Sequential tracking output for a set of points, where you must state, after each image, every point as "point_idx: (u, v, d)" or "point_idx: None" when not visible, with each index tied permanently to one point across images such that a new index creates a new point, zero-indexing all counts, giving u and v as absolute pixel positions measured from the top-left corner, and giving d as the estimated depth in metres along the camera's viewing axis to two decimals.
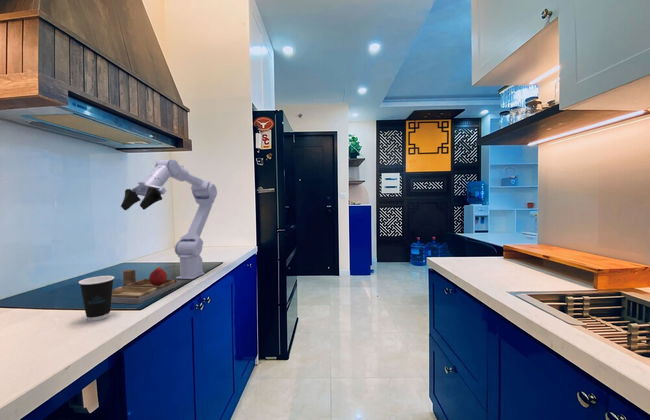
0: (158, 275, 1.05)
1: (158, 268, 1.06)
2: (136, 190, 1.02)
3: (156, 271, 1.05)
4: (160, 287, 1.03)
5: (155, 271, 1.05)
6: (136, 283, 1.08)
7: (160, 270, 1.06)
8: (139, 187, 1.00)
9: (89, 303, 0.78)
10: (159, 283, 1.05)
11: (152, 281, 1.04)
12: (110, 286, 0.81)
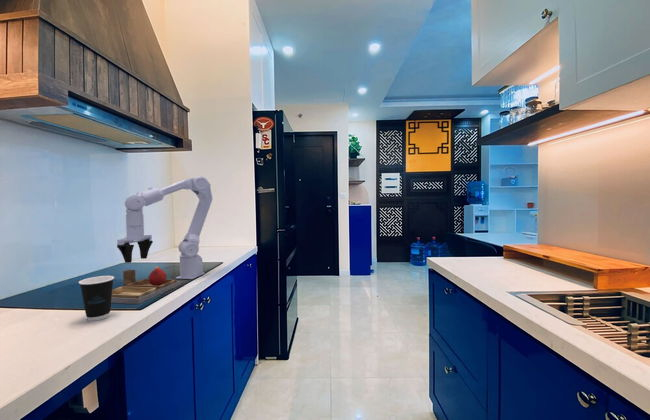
0: (157, 274, 1.05)
1: (157, 268, 1.07)
2: None
3: (155, 271, 1.06)
4: (160, 287, 1.03)
5: (154, 271, 1.06)
6: (136, 283, 1.08)
7: (159, 270, 1.06)
8: None
9: (89, 303, 0.78)
10: (159, 283, 1.05)
11: (151, 281, 1.04)
12: (110, 286, 0.81)
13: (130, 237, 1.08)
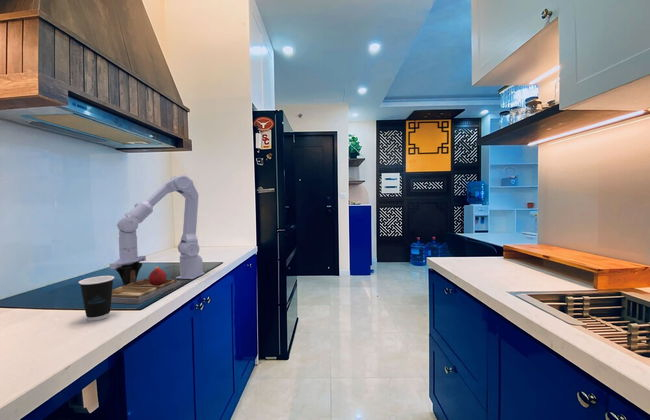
0: (157, 274, 1.05)
1: (157, 268, 1.07)
2: None
3: (155, 271, 1.06)
4: (160, 287, 1.03)
5: (154, 271, 1.06)
6: (136, 283, 1.08)
7: (159, 270, 1.06)
8: None
9: (89, 303, 0.78)
10: (159, 283, 1.05)
11: (151, 281, 1.04)
12: (110, 286, 0.81)
13: (123, 260, 1.06)
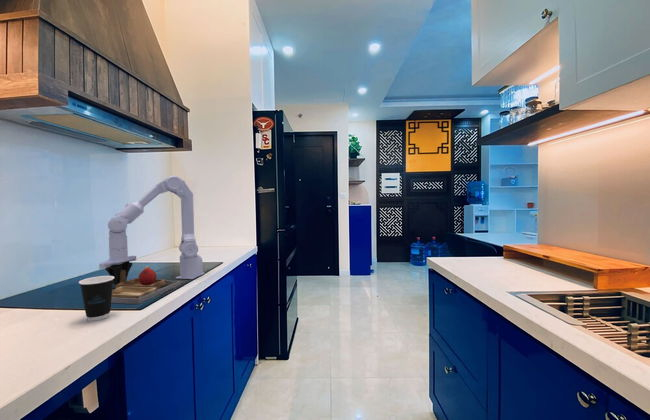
0: (147, 274, 1.06)
1: (147, 268, 1.07)
2: None
3: (145, 270, 1.06)
4: None
5: (144, 271, 1.06)
6: (126, 283, 1.09)
7: (149, 269, 1.07)
8: None
9: (89, 303, 0.78)
10: (148, 282, 1.06)
11: (141, 281, 1.05)
12: (110, 286, 0.81)
13: (113, 260, 1.06)
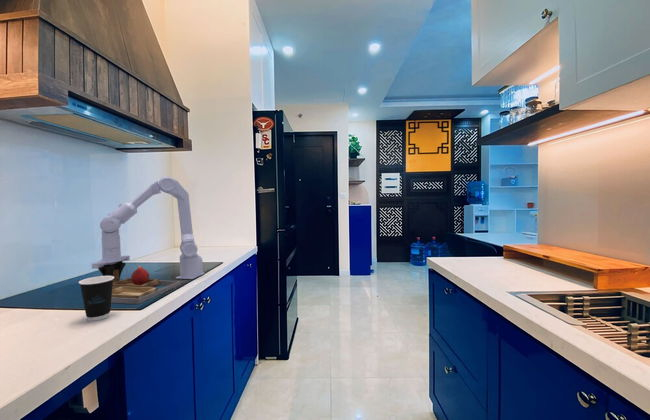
0: (140, 274, 1.06)
1: (139, 267, 1.08)
2: None
3: (137, 270, 1.07)
4: (142, 286, 1.04)
5: (136, 270, 1.07)
6: (119, 282, 1.10)
7: (141, 269, 1.08)
8: None
9: (89, 303, 0.78)
10: (141, 282, 1.06)
11: (134, 280, 1.05)
12: (110, 286, 0.81)
13: (106, 260, 1.07)
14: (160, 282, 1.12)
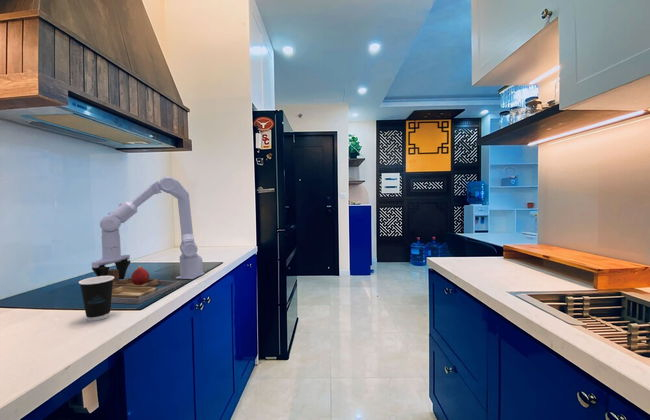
0: (140, 274, 1.06)
1: (139, 267, 1.08)
2: None
3: (137, 270, 1.07)
4: (142, 286, 1.04)
5: (136, 270, 1.07)
6: (119, 282, 1.10)
7: (141, 269, 1.08)
8: None
9: (89, 303, 0.78)
10: (141, 282, 1.06)
11: (134, 280, 1.05)
12: (110, 286, 0.81)
13: (106, 259, 1.07)
14: (160, 282, 1.12)
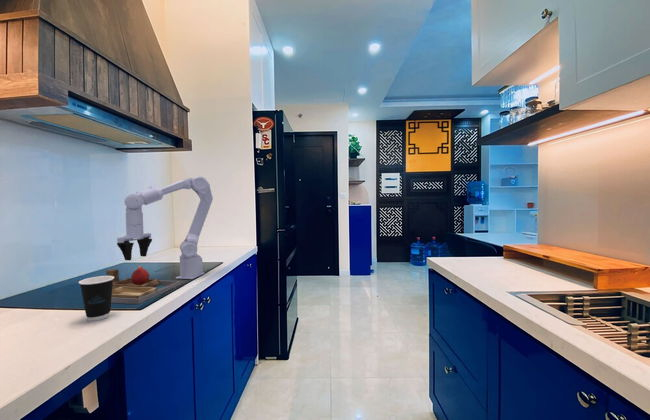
0: (140, 274, 1.06)
1: (139, 267, 1.08)
2: None
3: (137, 270, 1.07)
4: (142, 286, 1.04)
5: (136, 270, 1.07)
6: (119, 282, 1.10)
7: (141, 269, 1.08)
8: None
9: (89, 303, 0.78)
10: (141, 282, 1.06)
11: (134, 280, 1.05)
12: (110, 286, 0.81)
13: (130, 235, 1.11)
14: (160, 282, 1.12)
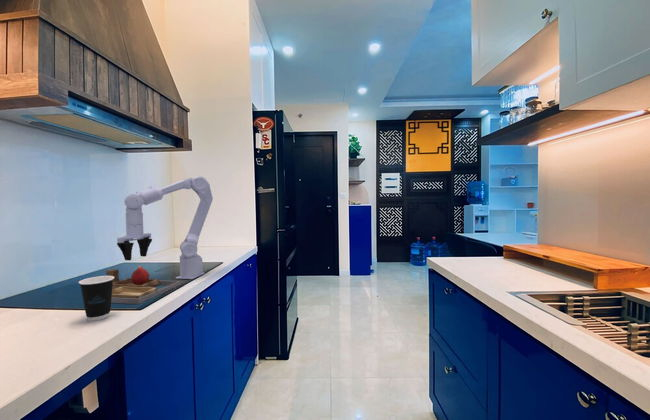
0: (140, 274, 1.06)
1: (139, 267, 1.08)
2: None
3: (137, 270, 1.07)
4: (142, 286, 1.04)
5: (136, 270, 1.07)
6: (119, 282, 1.10)
7: (141, 269, 1.08)
8: None
9: (89, 303, 0.78)
10: (141, 282, 1.06)
11: (134, 280, 1.05)
12: (110, 286, 0.81)
13: (130, 235, 1.11)
14: (160, 282, 1.12)
